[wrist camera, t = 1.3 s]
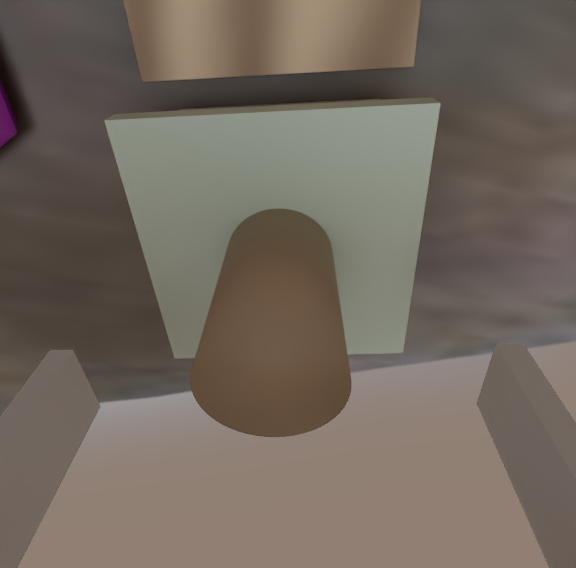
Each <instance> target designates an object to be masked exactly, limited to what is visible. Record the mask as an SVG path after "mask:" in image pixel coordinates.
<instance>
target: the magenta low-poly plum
mask: <svg viewBox="0 0 576 568" xmlns="http://www.w3.org/2000/svg"><path fill="white" fill-rule="evenodd" d="M16 133H17V119H16V116H15V114H14V111H13V108H12V106H11V103H10V101H9V98H8V96H7V93H6V90H5V88H4V85H3V83H2V80H1V78H0V147H1V146H2V145H3V144H5V143H6V142H7V141H8V140H9V139H10V138H12V137H13V136H14V135H15V134H16Z"/></svg>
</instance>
